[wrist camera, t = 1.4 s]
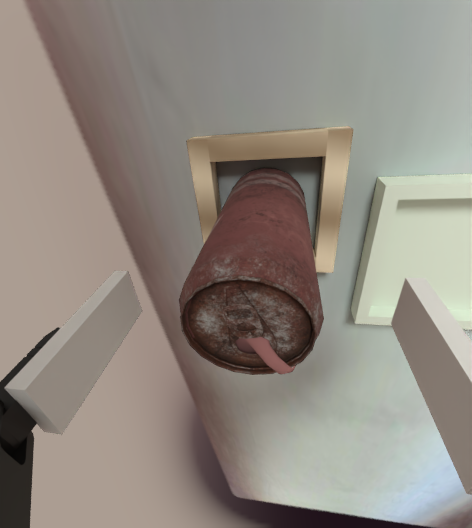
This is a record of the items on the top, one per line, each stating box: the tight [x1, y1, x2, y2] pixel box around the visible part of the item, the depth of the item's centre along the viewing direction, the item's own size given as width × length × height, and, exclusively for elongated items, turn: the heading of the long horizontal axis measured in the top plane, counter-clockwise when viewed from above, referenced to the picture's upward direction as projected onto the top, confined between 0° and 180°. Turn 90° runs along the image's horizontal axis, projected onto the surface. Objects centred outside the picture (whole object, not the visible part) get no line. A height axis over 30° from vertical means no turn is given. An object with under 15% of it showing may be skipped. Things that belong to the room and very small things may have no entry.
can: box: [179, 168, 324, 375], centre depth 16 cm, size 6×6×14 cm
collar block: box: [186, 126, 353, 273], centre depth 23 cm, size 18×11×3 cm, turn 5°
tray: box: [351, 174, 472, 330], centre depth 21 cm, size 13×13×2 cm
